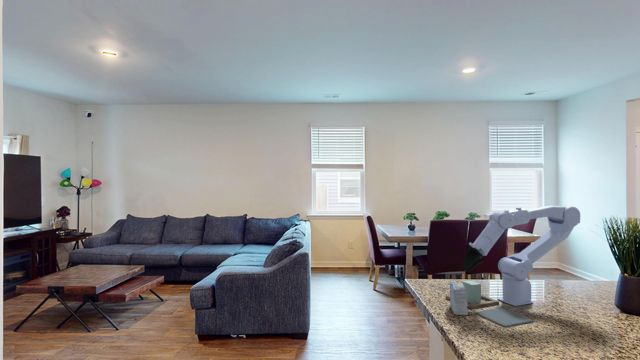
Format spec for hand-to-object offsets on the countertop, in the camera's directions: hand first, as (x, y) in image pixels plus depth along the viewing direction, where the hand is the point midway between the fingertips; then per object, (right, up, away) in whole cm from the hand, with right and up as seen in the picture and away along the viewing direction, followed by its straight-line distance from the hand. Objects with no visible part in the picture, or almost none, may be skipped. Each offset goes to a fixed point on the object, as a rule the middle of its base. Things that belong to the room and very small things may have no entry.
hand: (465, 268), depth 127 cm
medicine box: (-5, -13, -7) cm, 16 cm away
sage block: (+4, -13, +3) cm, 14 cm away
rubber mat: (+7, -13, -13) cm, 20 cm away
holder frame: (+4, -13, +3) cm, 14 cm away
